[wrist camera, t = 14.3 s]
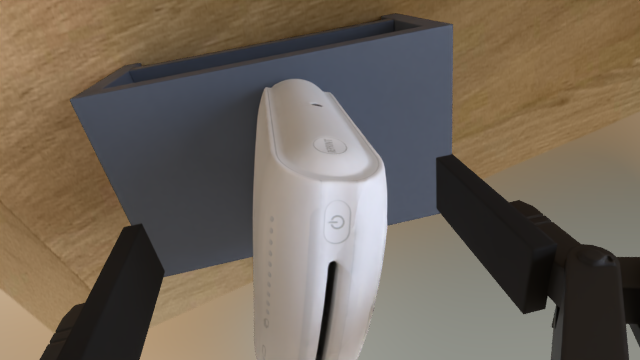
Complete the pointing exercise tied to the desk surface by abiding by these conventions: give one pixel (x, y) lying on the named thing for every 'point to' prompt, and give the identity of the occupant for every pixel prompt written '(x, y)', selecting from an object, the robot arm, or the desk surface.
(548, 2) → the desk surface
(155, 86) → the shelf
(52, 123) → the desk surface
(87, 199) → the desk surface
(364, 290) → the photo printer
